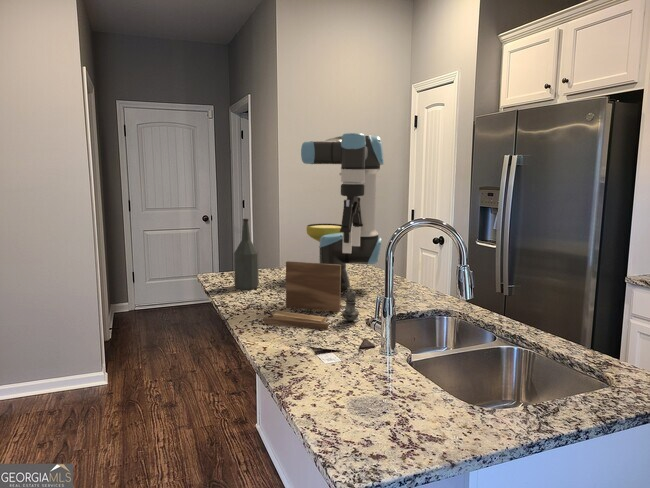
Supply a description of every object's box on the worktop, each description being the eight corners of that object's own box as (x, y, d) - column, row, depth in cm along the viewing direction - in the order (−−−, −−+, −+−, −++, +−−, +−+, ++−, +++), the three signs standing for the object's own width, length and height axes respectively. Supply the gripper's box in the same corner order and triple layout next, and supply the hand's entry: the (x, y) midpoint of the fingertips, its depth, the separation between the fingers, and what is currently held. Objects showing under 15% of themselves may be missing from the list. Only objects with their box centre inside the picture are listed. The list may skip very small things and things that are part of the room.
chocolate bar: (374, 345, 140) (316, 352, 135) (374, 348, 141) (315, 355, 135) (362, 335, 149) (306, 341, 143) (362, 338, 149) (306, 345, 143)
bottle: (256, 290, 204) (255, 219, 199) (233, 290, 204) (231, 219, 200) (259, 284, 214) (259, 217, 210) (237, 284, 215) (236, 217, 210)
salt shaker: (356, 326, 156) (357, 290, 155) (339, 324, 158) (340, 288, 156) (360, 321, 162) (361, 286, 160) (343, 319, 164) (344, 284, 162)
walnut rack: (285, 309, 178) (285, 261, 175) (342, 314, 172) (343, 264, 169) (263, 327, 158) (262, 273, 155) (327, 333, 152) (327, 277, 149)
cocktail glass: (300, 276, 232) (300, 224, 228) (334, 273, 240) (334, 222, 236) (315, 284, 216) (316, 228, 212) (351, 280, 223) (352, 227, 220)
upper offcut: (279, 316, 164) (279, 310, 164) (325, 323, 158) (325, 317, 158) (273, 320, 160) (273, 314, 160) (320, 327, 154) (320, 321, 154)
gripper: (349, 181, 166) (348, 242, 169) (331, 184, 142) (330, 255, 145) (371, 182, 164) (369, 244, 167) (356, 185, 140) (354, 256, 143)
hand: (351, 249), depth 156 cm, fingers open, 13 cm apart
